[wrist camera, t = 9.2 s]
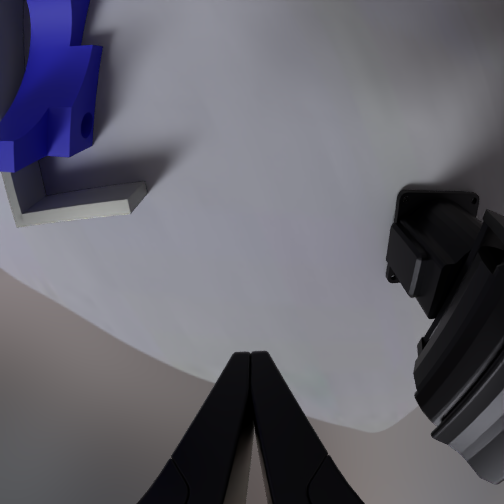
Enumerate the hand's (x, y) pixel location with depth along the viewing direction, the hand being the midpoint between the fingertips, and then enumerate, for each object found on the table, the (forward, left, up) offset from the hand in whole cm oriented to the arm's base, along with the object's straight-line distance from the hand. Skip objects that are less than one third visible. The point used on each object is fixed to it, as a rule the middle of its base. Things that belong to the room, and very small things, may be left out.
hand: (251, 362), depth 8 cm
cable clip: (+10, -10, -12) cm, 19 cm away
